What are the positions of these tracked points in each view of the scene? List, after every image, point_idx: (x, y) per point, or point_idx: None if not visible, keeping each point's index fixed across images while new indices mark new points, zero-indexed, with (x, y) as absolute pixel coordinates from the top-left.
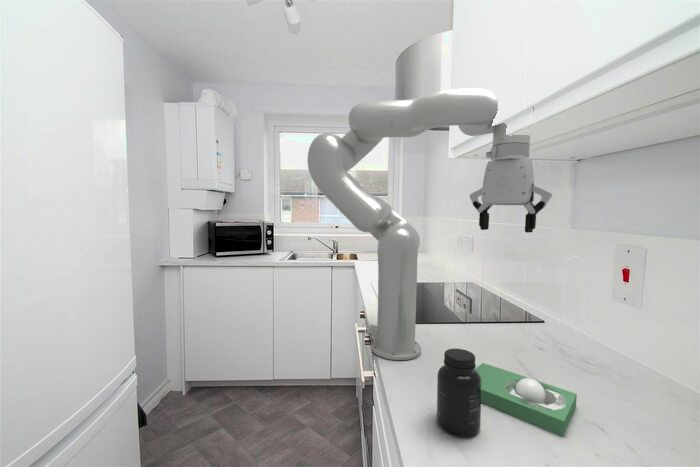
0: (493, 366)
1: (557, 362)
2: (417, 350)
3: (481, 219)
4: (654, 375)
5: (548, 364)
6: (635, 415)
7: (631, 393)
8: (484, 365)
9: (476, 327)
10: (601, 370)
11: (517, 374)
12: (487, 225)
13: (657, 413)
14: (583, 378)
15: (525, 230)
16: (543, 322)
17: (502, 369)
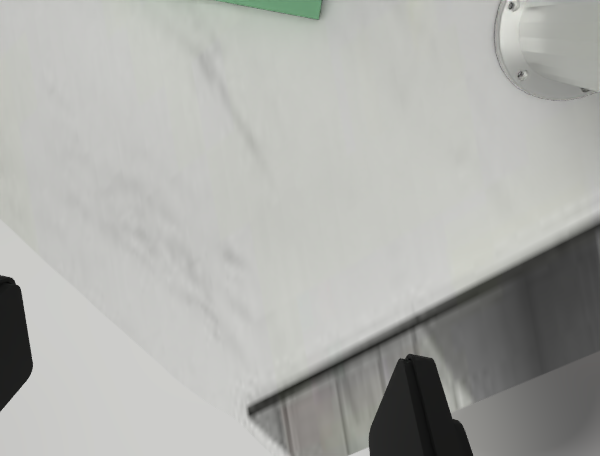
0: (289, 12)
1: (187, 198)
2: (506, 23)
3: (452, 447)
4: (37, 239)
5: (200, 175)
6: (30, 26)
7: (52, 127)
8: (310, 2)
9: (381, 306)
10: (111, 207)
11: (230, 1)
12: (379, 449)
13: (5, 64)
14: (131, 144)
15: (4, 286)
16: (248, 407)
17: (266, 8)
